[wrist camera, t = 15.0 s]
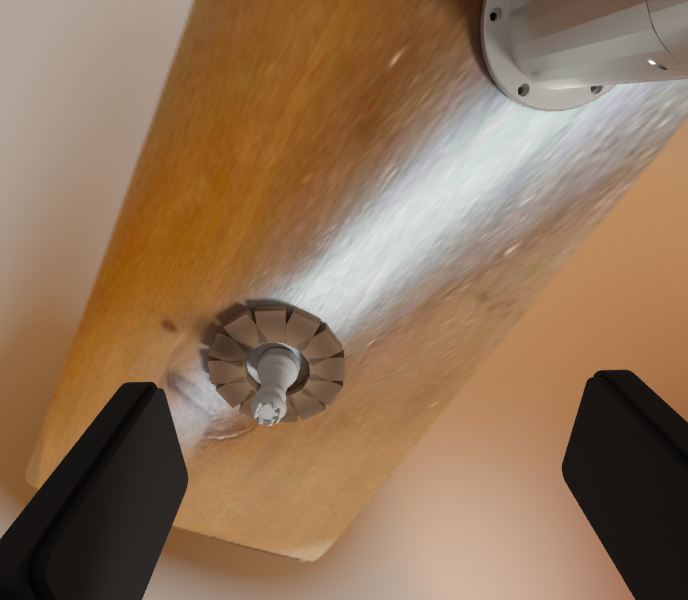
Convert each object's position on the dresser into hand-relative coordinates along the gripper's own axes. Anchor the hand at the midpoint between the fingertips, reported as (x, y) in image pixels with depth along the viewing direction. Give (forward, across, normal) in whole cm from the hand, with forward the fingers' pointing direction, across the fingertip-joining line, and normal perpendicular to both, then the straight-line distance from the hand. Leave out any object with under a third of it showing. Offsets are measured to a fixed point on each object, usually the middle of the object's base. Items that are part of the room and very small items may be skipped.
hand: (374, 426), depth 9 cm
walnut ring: (+28, +8, +18) cm, 34 cm away
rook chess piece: (+28, +8, +18) cm, 35 cm away
